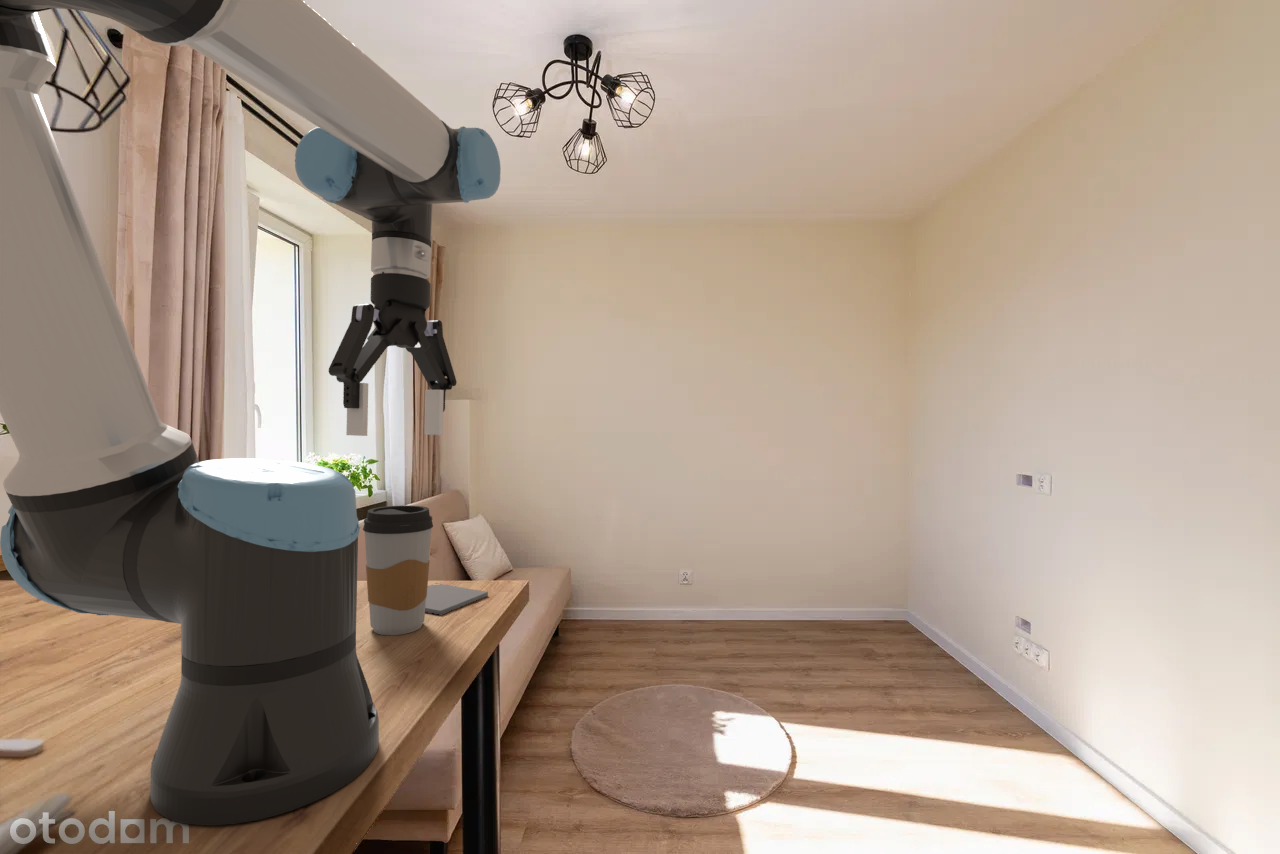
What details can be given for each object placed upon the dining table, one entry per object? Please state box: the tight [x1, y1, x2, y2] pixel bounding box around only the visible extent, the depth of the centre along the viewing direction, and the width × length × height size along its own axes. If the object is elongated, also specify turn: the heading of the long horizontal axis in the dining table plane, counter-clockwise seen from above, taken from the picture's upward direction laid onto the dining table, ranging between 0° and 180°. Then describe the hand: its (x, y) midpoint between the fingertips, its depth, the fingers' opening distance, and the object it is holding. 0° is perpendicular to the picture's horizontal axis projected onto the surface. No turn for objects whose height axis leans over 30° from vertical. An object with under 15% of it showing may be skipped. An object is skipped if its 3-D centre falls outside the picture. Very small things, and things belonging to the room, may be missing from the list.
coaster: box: [425, 583, 489, 616], centre depth 91 cm, size 10×10×1 cm
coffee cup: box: [362, 505, 434, 636], centre depth 79 cm, size 8×8×15 cm
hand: (398, 435), depth 84 cm, fingers open, 13 cm apart
